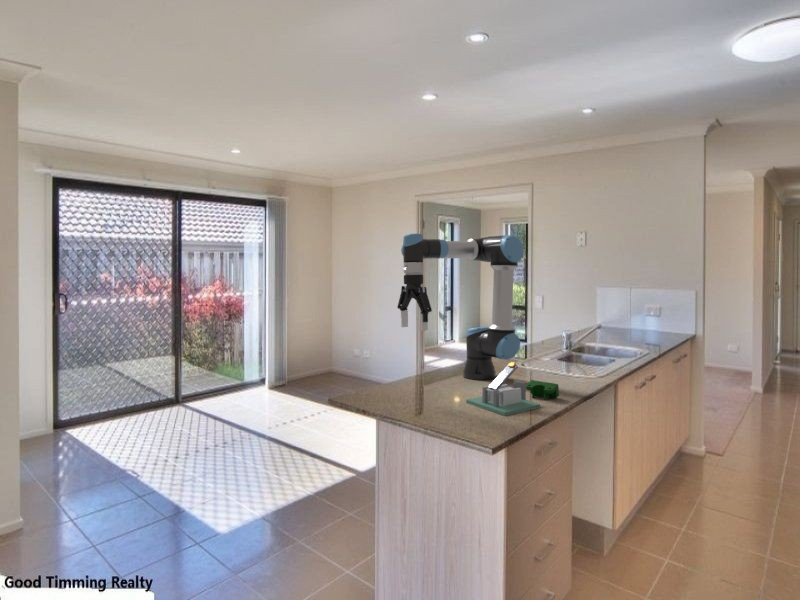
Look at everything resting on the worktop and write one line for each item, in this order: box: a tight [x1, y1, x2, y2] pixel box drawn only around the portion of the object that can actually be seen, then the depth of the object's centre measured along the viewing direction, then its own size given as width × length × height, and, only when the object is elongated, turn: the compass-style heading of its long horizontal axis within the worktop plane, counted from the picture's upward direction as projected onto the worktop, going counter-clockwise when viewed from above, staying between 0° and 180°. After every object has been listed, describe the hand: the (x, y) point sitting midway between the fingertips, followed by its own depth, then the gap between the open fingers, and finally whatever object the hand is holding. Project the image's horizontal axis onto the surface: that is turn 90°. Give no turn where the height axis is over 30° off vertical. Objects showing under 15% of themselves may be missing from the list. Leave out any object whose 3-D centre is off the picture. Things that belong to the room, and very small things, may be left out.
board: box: [465, 379, 541, 417], centre depth 186 cm, size 18×20×8 cm
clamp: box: [526, 379, 560, 401], centre depth 196 cm, size 12×6×9 cm, turn 42°
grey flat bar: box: [487, 361, 519, 390], centre depth 185 cm, size 14×4×2 cm
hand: (414, 328), depth 195 cm, fingers open, 13 cm apart
